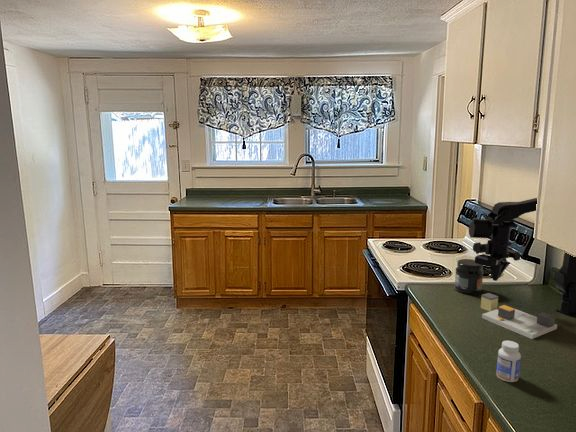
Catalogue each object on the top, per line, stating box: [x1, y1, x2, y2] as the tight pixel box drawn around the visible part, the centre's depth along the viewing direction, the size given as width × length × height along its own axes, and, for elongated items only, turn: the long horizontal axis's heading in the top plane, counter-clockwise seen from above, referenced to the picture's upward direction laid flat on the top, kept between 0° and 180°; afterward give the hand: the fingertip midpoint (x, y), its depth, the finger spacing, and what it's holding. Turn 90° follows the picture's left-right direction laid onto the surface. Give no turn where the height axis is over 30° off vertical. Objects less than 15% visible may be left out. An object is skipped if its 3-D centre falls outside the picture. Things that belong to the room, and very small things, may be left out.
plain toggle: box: [536, 311, 556, 327], centre depth 144 cm, size 3×4×3 cm
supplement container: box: [453, 258, 484, 295], centre depth 178 cm, size 10×10×12 cm
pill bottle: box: [496, 340, 522, 383], centre depth 116 cm, size 5×5×10 cm
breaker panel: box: [481, 308, 558, 340], centre depth 149 cm, size 14×18×2 cm
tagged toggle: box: [498, 304, 516, 320], centre depth 149 cm, size 3×4×3 cm
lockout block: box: [480, 292, 499, 312], centre depth 161 cm, size 4×4×5 cm
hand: (495, 280), depth 157 cm, fingers closed
